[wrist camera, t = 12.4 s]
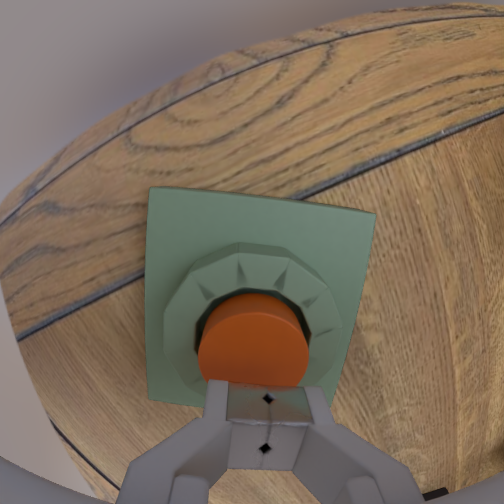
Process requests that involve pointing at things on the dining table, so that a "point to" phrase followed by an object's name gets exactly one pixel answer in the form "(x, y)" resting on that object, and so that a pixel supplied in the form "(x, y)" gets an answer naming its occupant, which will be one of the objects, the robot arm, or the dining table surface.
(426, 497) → the timer panel
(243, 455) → the robot arm
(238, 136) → the dining table surface
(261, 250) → the button block
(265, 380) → the button
